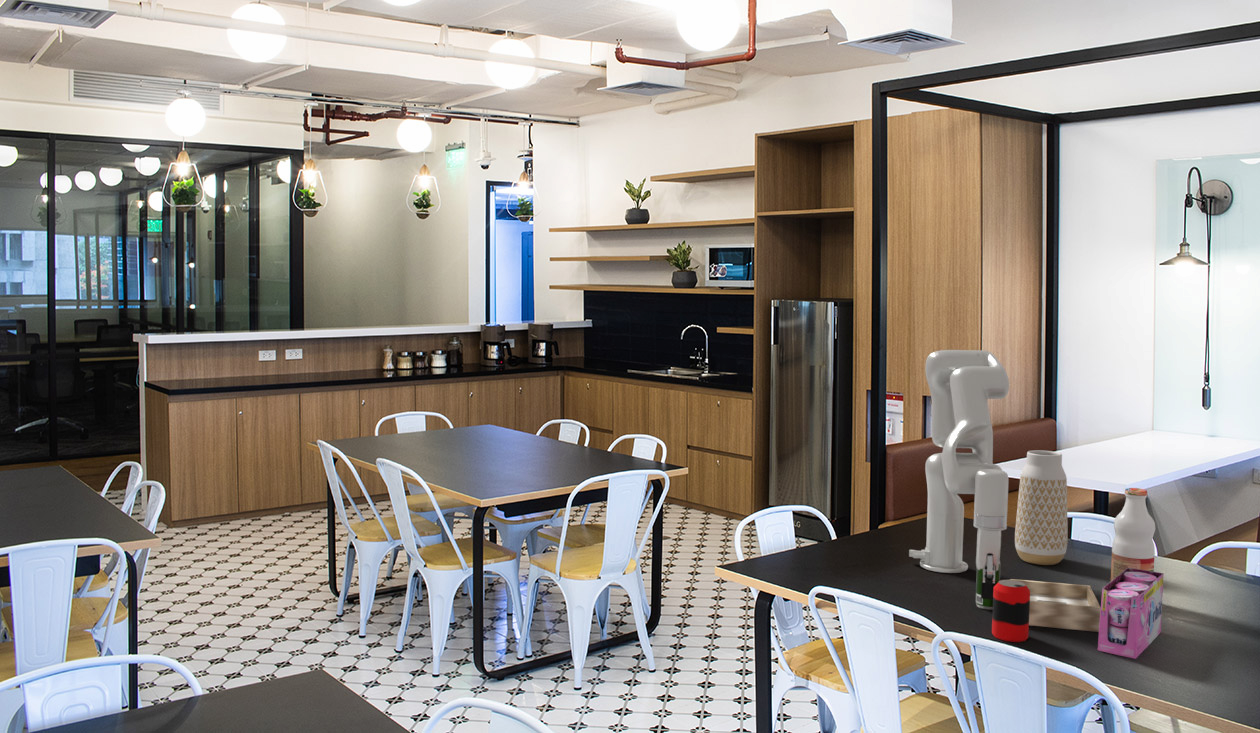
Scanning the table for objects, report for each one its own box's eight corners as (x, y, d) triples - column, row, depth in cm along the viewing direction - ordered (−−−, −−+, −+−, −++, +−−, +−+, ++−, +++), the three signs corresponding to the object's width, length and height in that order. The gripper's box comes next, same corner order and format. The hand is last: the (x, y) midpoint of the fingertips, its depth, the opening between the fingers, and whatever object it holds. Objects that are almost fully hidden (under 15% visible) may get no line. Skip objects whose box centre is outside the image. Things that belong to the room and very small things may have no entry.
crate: (1014, 623, 239) (1015, 600, 238) (1009, 600, 256) (1010, 578, 255) (1099, 631, 234) (1100, 607, 233) (1089, 608, 251) (1089, 585, 250)
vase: (1076, 562, 292) (1081, 454, 289) (1047, 570, 284) (1051, 458, 281) (1033, 551, 303) (1037, 447, 300) (1003, 558, 295) (1007, 451, 293)
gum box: (1135, 661, 216) (1138, 597, 214) (1094, 653, 220) (1097, 590, 219) (1161, 632, 234) (1164, 572, 233) (1123, 624, 239) (1126, 566, 238)
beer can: (989, 611, 248) (991, 561, 247) (970, 605, 252) (972, 556, 251) (1003, 607, 251) (1005, 558, 250) (984, 601, 255) (986, 553, 254)
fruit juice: (1107, 594, 262) (1112, 484, 259) (1148, 598, 259) (1154, 487, 257) (1112, 605, 253) (1117, 491, 251) (1155, 609, 250) (1161, 494, 248)
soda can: (1009, 644, 225) (1011, 589, 224) (984, 633, 232) (986, 580, 231) (1035, 639, 228) (1038, 586, 227) (1010, 629, 235) (1012, 577, 234)
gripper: (972, 512, 259) (970, 584, 260) (974, 527, 242) (972, 604, 244) (1004, 514, 257) (1002, 586, 258) (1009, 530, 240) (1006, 607, 242)
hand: (987, 594), depth 251 cm, fingers closed on beer can, 5 cm apart
